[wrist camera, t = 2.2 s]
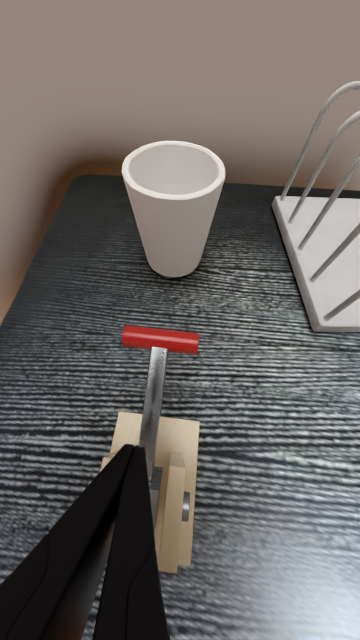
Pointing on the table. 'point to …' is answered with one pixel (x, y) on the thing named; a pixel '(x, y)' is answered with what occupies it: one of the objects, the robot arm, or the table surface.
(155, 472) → the power lever
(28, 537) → the table surface
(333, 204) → the file sorter
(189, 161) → the cup
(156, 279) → the table surface
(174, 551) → the switch box
